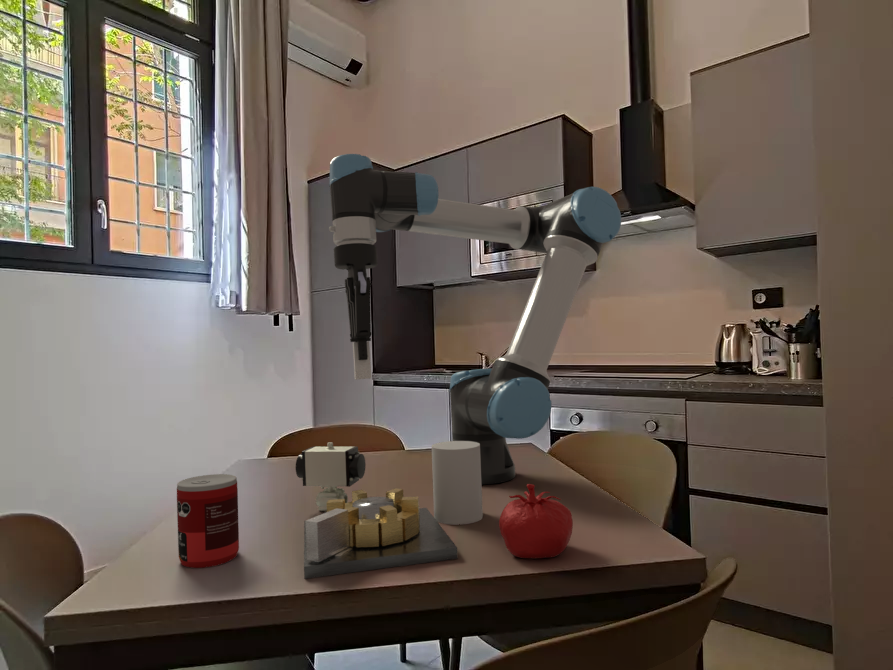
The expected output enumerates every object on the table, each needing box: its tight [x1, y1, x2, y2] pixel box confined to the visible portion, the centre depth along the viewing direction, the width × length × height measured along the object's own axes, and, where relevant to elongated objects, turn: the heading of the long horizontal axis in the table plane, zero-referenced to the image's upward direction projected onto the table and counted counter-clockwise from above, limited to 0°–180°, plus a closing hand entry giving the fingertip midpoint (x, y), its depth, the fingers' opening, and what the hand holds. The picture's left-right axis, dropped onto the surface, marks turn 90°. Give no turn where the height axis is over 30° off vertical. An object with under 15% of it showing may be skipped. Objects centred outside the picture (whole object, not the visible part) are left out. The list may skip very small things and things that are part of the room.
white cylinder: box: [431, 440, 484, 526], centre depth 95 cm, size 8×8×12 cm
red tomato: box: [498, 483, 574, 560], centre depth 78 cm, size 10×10×9 cm
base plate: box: [303, 496, 459, 579], centre depth 83 cm, size 20×20×6 cm
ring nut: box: [305, 487, 420, 562], centre depth 81 cm, size 20×13×5 cm
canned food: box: [176, 473, 240, 569], centre depth 80 cm, size 8×8×11 cm
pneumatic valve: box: [295, 441, 367, 512], centre depth 103 cm, size 6×12×12 cm, turn 78°
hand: (363, 378), depth 100 cm, fingers closed
